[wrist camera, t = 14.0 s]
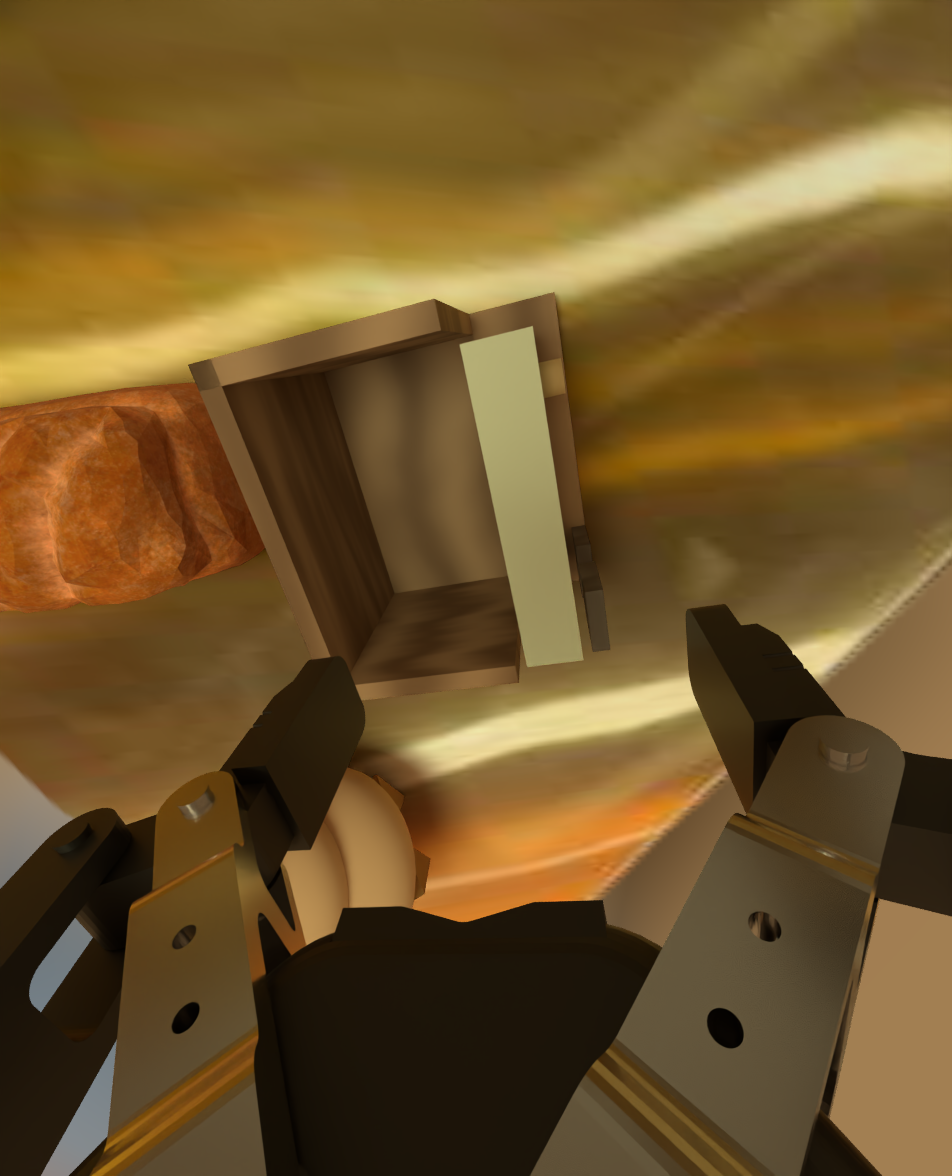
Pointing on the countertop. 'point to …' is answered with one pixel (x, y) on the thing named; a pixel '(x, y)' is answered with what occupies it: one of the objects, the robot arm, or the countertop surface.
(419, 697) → the countertop surface
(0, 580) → the bread
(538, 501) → the door
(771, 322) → the countertop surface
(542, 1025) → the robot arm
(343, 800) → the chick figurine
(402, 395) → the cabinet
